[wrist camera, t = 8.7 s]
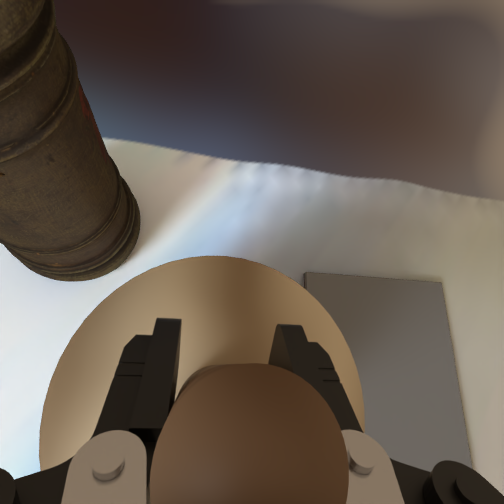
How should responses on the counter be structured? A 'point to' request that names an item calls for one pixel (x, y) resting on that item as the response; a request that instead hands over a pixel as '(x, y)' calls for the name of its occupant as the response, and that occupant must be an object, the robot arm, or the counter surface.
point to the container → (55, 157)
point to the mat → (400, 363)
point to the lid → (215, 386)
